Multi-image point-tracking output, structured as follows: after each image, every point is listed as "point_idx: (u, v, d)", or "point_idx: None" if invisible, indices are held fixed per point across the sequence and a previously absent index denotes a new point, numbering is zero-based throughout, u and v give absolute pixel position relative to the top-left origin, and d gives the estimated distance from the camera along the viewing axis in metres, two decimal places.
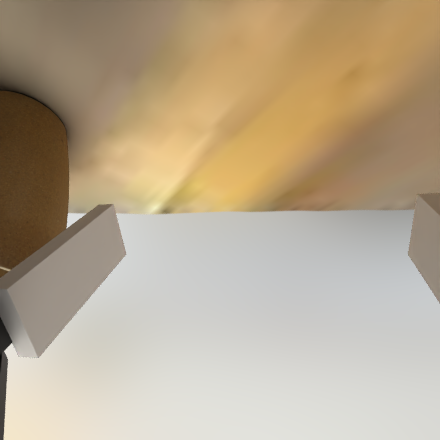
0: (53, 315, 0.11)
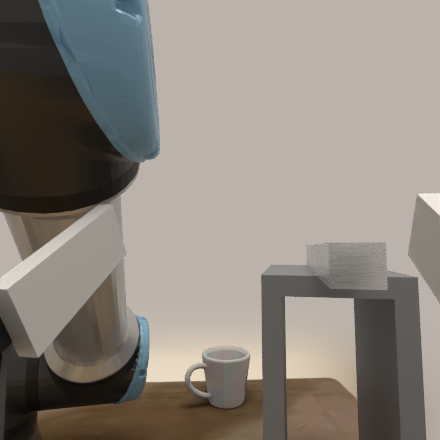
0: (53, 315, 0.11)
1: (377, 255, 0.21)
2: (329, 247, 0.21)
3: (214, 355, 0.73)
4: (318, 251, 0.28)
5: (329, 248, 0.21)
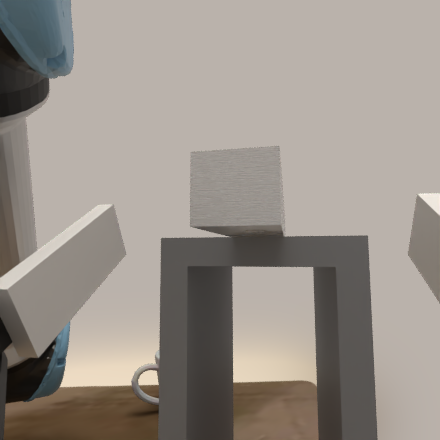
0: (53, 315, 0.11)
1: (265, 167, 0.12)
2: (192, 159, 0.13)
3: None
4: None
5: (192, 161, 0.13)
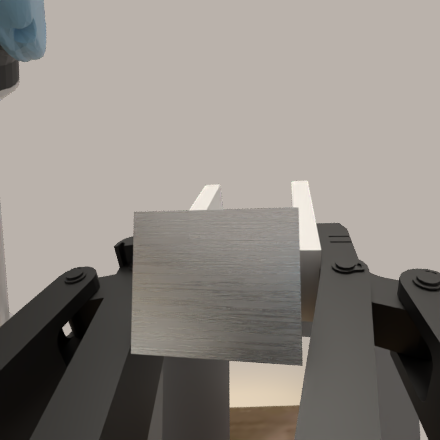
0: None
1: (272, 249, 0.06)
2: (136, 225, 0.07)
3: None
4: None
5: (136, 228, 0.07)
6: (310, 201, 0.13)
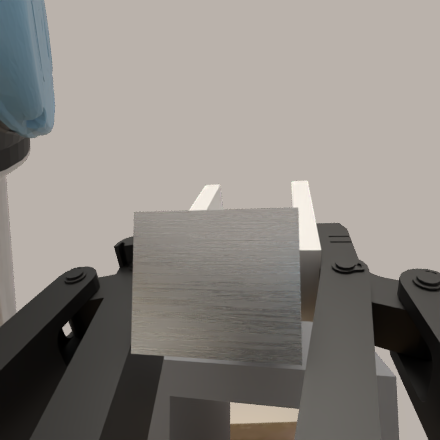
0: None
1: (272, 249, 0.06)
2: (137, 226, 0.07)
3: None
4: None
5: (136, 229, 0.07)
6: (310, 201, 0.13)
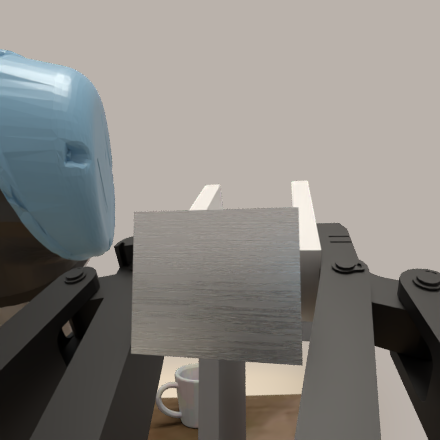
0: None
1: (272, 249, 0.06)
2: (137, 225, 0.07)
3: (188, 373, 0.74)
4: None
5: (136, 228, 0.07)
6: (310, 201, 0.13)
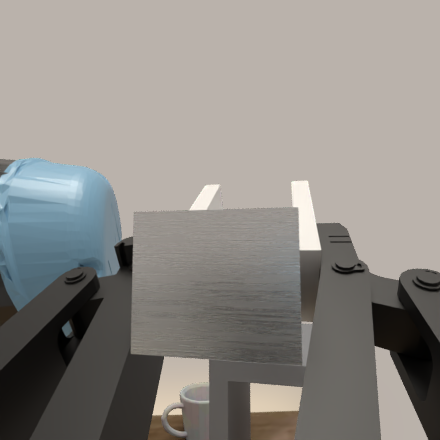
0: None
1: (272, 249, 0.06)
2: (136, 225, 0.07)
3: (192, 392, 0.75)
4: None
5: (136, 228, 0.07)
6: (310, 201, 0.13)
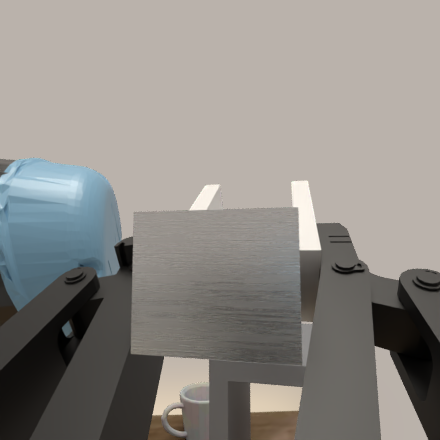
0: None
1: (272, 249, 0.06)
2: (136, 226, 0.07)
3: (192, 392, 0.76)
4: None
5: (136, 229, 0.07)
6: (310, 201, 0.13)
